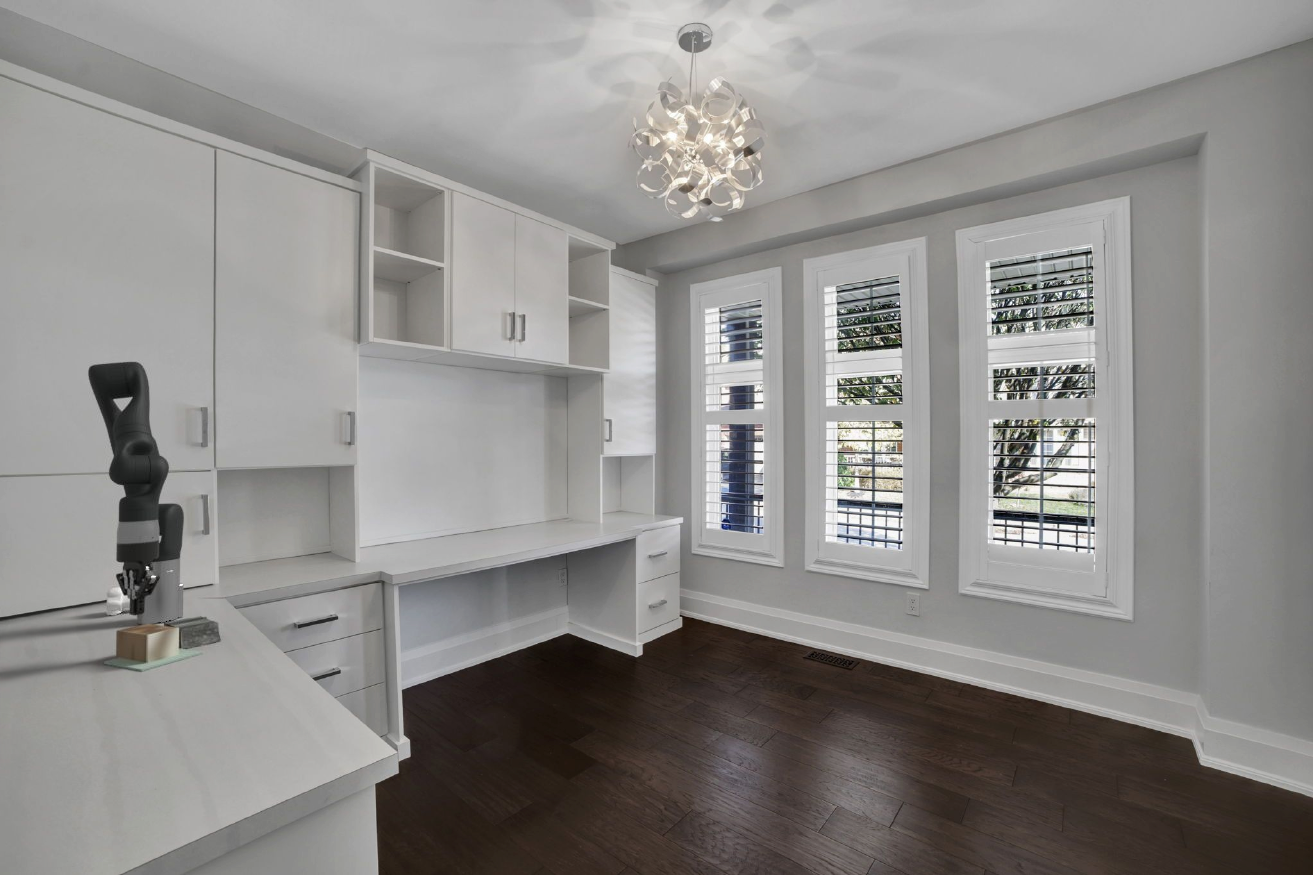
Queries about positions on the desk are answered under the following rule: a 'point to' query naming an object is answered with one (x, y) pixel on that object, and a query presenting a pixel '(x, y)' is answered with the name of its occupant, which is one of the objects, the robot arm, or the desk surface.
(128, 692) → the desk surface
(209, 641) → the stone block
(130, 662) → the sage mat
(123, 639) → the walnut block
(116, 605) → the bone shaped toy
